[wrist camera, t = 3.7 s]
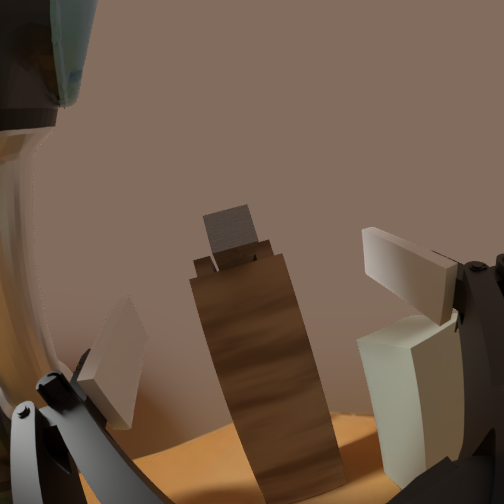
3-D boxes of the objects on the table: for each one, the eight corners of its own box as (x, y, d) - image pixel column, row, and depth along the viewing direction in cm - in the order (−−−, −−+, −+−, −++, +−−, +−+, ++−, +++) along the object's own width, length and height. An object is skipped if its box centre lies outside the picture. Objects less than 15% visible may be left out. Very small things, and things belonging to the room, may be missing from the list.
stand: (347, 483, 24) (277, 237, 30) (269, 509, 23) (184, 262, 29) (325, 452, 34) (267, 256, 40) (262, 472, 32) (197, 275, 39)
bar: (258, 240, 21) (247, 204, 22) (212, 253, 21) (202, 216, 21) (247, 278, 42) (242, 259, 43) (225, 284, 42) (219, 265, 43)
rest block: (476, 471, 14) (469, 311, 18) (425, 510, 13) (410, 348, 17) (429, 446, 24) (408, 315, 27) (384, 473, 23) (356, 339, 26)
